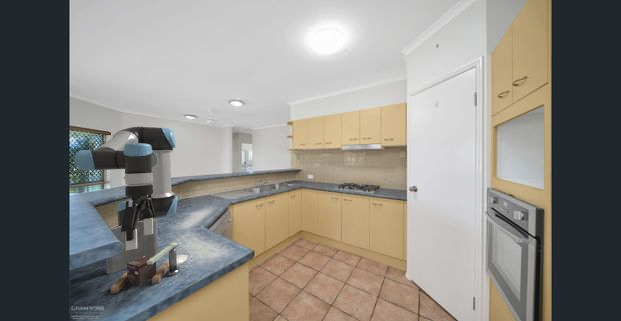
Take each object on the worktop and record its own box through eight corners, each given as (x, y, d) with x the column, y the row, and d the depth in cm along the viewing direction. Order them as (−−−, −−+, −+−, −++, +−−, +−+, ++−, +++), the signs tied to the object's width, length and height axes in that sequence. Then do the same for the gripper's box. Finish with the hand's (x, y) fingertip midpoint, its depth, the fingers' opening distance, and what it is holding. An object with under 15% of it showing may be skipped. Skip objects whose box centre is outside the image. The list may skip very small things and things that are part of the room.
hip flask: (106, 275, 71) (105, 224, 71) (106, 270, 74) (105, 222, 73) (158, 257, 83) (157, 214, 82) (157, 254, 85) (156, 213, 85)
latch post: (168, 270, 73) (167, 246, 72) (181, 268, 74) (180, 244, 74) (164, 277, 68) (163, 251, 68) (178, 274, 70) (177, 249, 70)
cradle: (126, 276, 70) (126, 271, 70) (168, 267, 75) (167, 262, 75) (110, 294, 60) (110, 288, 60) (159, 282, 66) (158, 277, 66)
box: (126, 283, 66) (126, 263, 66) (146, 273, 71) (145, 255, 71) (138, 286, 64) (137, 266, 64) (156, 276, 70) (156, 257, 69)
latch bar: (144, 265, 59) (144, 261, 59) (170, 245, 73) (170, 242, 73) (154, 264, 60) (154, 260, 60) (178, 244, 73) (178, 242, 73)
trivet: (165, 259, 81) (165, 257, 81) (189, 254, 85) (189, 252, 85) (158, 270, 73) (158, 268, 73) (184, 264, 77) (184, 262, 77)
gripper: (141, 182, 77) (143, 231, 77) (103, 190, 54) (105, 260, 54) (163, 180, 80) (164, 228, 80) (136, 188, 57) (138, 254, 57)
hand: (141, 241), depth 67 cm, fingers open, 13 cm apart
